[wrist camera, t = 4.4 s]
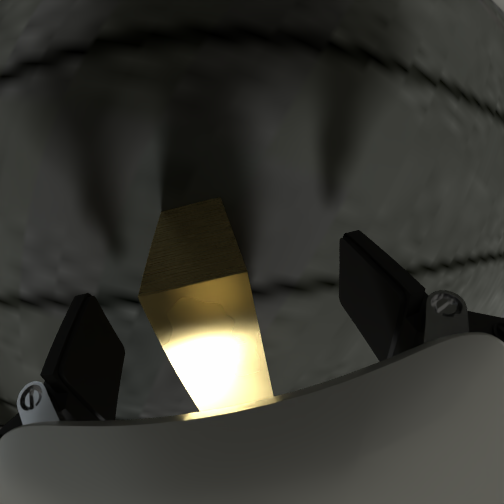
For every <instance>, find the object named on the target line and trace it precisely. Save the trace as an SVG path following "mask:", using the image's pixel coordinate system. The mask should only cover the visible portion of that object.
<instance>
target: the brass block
mask: <svg viewBox="0 0 504 504" xmlns="http://www.w3.org/2000/svg"><path fill="white" fill-rule="evenodd" d="M138 298H139V300H140V303H141V305H142V307H143V309H144V311H145V313H146V315H147V317H148V319H149V322H150V324H151V326H152V328H153V330H154V332H155V334H156V335H157V337H158V339H159V341H160V343H161V345H162V347H163V349H164V351H165V353H166V354H167V356H168V358H169V360H170V362H171V363H172V365H173V367H174V369H175V371H176V372H177V374H178V376H179V378H180V379H181V381H182V383H183V384H184V386H185V388H186V389H187V391H188V393H189V394H190V396H191V398H192V399H193V401H194V402H195V404H196V405H197V407H198V409H199V410H200V412H203V411H209V410H215V409H220V408H225V407H231V406H236V405H240V404H245V403H250V402H254V401H258V400H263V399H267V398H271V397H273V392H272V388H271V383H270V378H269V374H268V369H267V364H266V359H265V355H264V350H263V345H262V340H261V336H260V331H259V326H258V321H257V316H256V312H255V307H254V302H253V297H252V292H251V287H250V283H249V278H248V273H247V269H246V267H245V264H244V261H243V258H242V256H241V253H240V250H239V247H238V245H237V242H236V239H235V236H234V234H233V231H232V228H231V225H230V222H229V220H228V217H227V214H226V211H225V209H224V206H223V203H222V200H221V197H219V198H215V199H210V200H206V201H202V202H198V203H194V204H190V205H186V206H182V207H178V208H174V209H170V210H166V211H163V212H161V214H160V218H159V221H158V224H157V227H156V231H155V234H154V238H153V241H152V245H151V248H150V252H149V256H148V259H147V263H146V267H145V271H144V275H143V279H142V283H141V287H140V291H139V295H138Z"/></svg>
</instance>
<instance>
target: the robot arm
mask: <svg viewBox="0 0 504 504" xmlns="http://www.w3.org/2000/svg"><path fill="white" fill-rule="evenodd" d="M339 299H340V302H341V304H342V306H343V307H344V309H345V310H346V312H347V313H348V315H349V316H350V318H351V319H352V321H353V322H354V323H355V325H356V326H357V328H358V329H359V331H360V332H361V334H362V335H363V337H364V338H365V340H366V341H367V343H368V344H369V346H370V347H371V349H372V350H373V352H374V354H375V355H376V357H377V358H378V360H379V361H380V362H378V363H376V364H373V365H370V366H368V367H365V368H362V369H360V370H357V371H354V372H352V373H349V374H346V375H343V376H341V377H338V378H335V379H332V380H329V381H326V382H323V383H320V384H317V385H313V386H310V387H307V388H304V389H300V390H297V391H293V392H290V393H286V394H282V395H278V396H275V397H271V398H267V399H263V400H258V401H254V402H250V403H245V404H240V405H236V406H231V407H225V408H220V409H215V410H209V411H203V412H196V413H189V414H182V415H174V416H166V417H156V418H145V419H131V420H115V415H116V407H117V399H118V392H119V386H120V379H121V373H122V367H123V362H124V356H125V350H124V346H123V344H122V343H121V341H120V340H119V338H118V336H117V335H116V333H115V331H114V330H113V328H112V326H111V324H110V323H109V321H108V319H107V317H106V316H105V314H104V312H103V310H102V308H101V307H100V305H99V303H98V301H97V299H96V298H95V297H94V296H91V295H90V294H89V293H86V294H82V295H78V296H75V297H74V299H73V301H72V303H71V305H70V307H69V309H68V311H67V313H66V316H65V318H64V320H63V322H62V324H61V326H60V328H59V331H58V333H57V335H56V337H55V340H54V342H53V344H52V347H51V349H50V352H49V354H48V356H47V359H46V361H45V364H44V367H43V369H42V372H41V377H42V378H43V379H44V380H45V382H44V384H43V383H41V382H39V381H34V382H31V383H29V384H27V385H26V386H25V387H24V388H23V389H22V391H21V392H20V394H19V396H18V400H17V407H18V411H19V413H18V414H17V415H16V416H15V417H13V418H12V419H11V420H10V421H9V422H8V423H7V424H5V425H4V426H3V427H0V504H504V318H501V317H495V316H490V315H485V314H480V313H475V312H470V311H467V306H466V303H465V301H464V300H463V299H462V298H461V297H460V296H459V295H458V294H456V293H453V292H451V291H447V290H439V291H435V292H433V293H431V294H430V295H429V296H428V295H427V294H426V293H425V288H424V287H423V286H422V285H421V284H420V283H419V282H418V281H417V280H416V279H414V278H413V277H412V276H411V275H410V274H409V273H408V272H407V271H406V270H405V269H404V268H402V267H401V266H400V265H399V264H398V263H397V262H396V261H395V260H394V259H392V258H391V257H390V256H389V255H388V254H387V253H386V252H384V251H383V250H382V249H381V248H380V247H379V246H377V245H376V244H375V243H374V242H373V241H372V240H370V239H369V238H368V237H367V236H366V235H364V234H363V233H362V232H361V231H359V230H357V231H353V232H349V233H345V234H344V236H343V238H341V239H340V274H339Z"/></svg>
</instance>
